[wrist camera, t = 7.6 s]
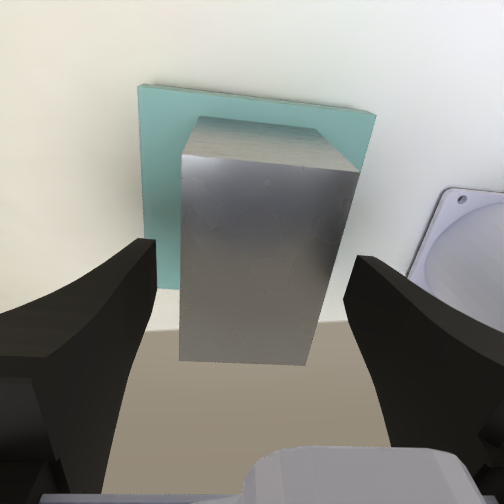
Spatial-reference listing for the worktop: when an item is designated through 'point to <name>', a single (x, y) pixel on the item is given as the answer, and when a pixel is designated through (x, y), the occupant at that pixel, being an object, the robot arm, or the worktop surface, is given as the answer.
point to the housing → (257, 239)
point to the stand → (179, 130)
